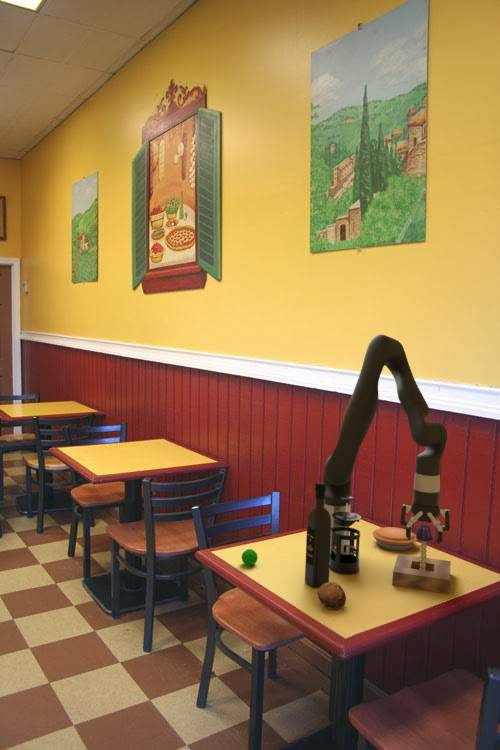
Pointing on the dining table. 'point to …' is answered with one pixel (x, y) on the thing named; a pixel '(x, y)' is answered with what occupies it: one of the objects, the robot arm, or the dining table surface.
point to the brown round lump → (331, 595)
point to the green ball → (249, 557)
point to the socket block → (422, 573)
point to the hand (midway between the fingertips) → (423, 541)
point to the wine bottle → (318, 540)
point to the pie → (394, 538)
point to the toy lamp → (423, 542)
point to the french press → (345, 553)
